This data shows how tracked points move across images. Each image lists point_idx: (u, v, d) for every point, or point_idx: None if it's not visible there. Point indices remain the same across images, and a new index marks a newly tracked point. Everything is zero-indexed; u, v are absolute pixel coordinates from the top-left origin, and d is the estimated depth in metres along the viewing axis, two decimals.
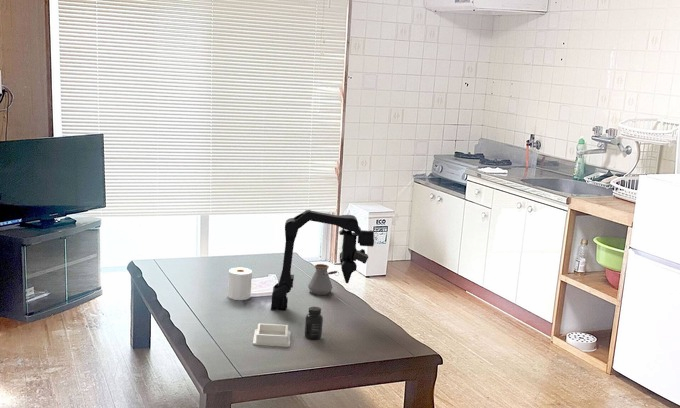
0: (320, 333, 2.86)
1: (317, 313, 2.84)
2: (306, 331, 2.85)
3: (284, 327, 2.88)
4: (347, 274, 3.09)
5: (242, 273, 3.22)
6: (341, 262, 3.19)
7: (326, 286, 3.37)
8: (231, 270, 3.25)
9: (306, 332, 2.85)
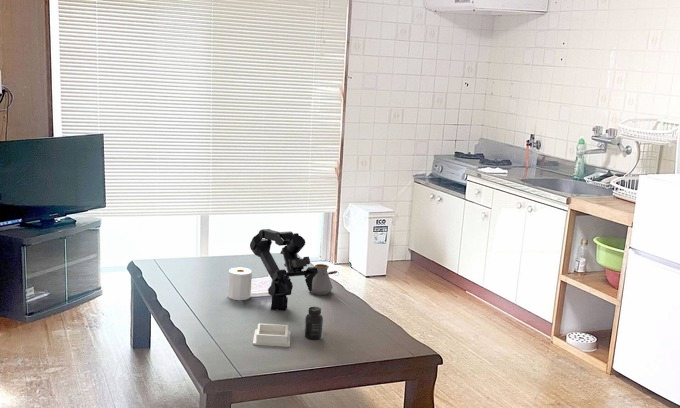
0: (320, 333, 2.86)
1: (317, 313, 2.84)
2: (306, 331, 2.85)
3: (284, 327, 2.88)
4: (285, 284, 2.97)
5: (242, 273, 3.21)
6: (305, 280, 3.05)
7: (326, 286, 3.37)
8: (231, 270, 3.25)
9: (306, 332, 2.85)
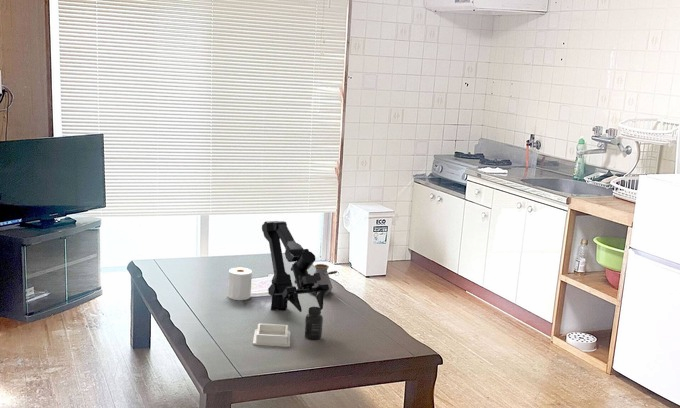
0: (320, 333, 2.86)
1: (317, 313, 2.84)
2: (306, 331, 2.85)
3: (284, 327, 2.88)
4: (295, 302, 2.88)
5: (242, 273, 3.21)
6: (316, 297, 2.95)
7: None
8: (231, 270, 3.25)
9: (306, 332, 2.85)
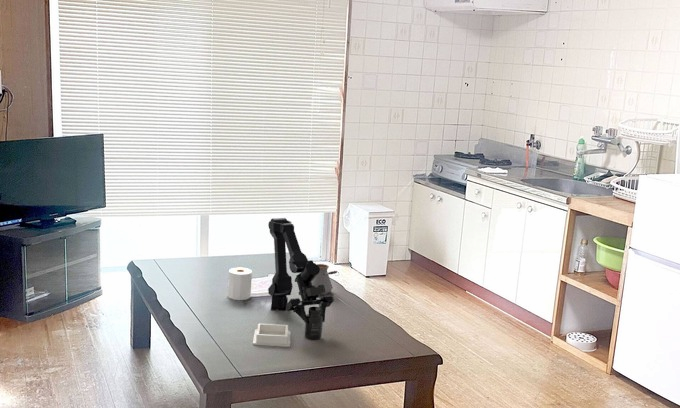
0: (320, 333, 2.86)
1: (317, 313, 2.84)
2: (306, 331, 2.85)
3: (284, 327, 2.88)
4: (301, 314, 2.85)
5: (242, 273, 3.22)
6: None
7: (326, 286, 3.37)
8: (231, 270, 3.25)
9: (306, 332, 2.85)
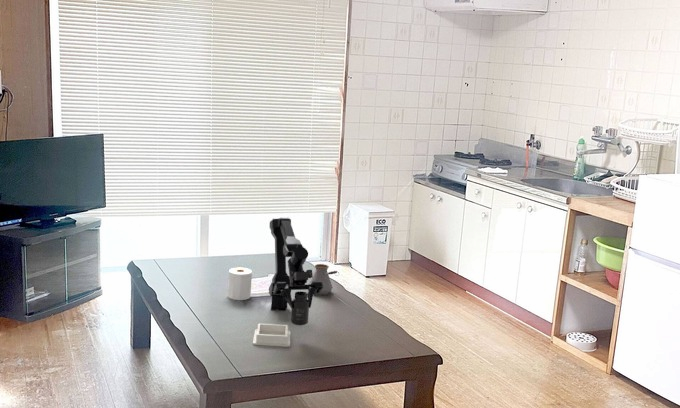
0: (305, 318, 2.81)
1: (302, 298, 2.80)
2: (291, 316, 2.82)
3: (284, 327, 2.88)
4: (287, 298, 2.82)
5: (242, 273, 3.21)
6: (307, 295, 2.88)
7: (326, 286, 3.37)
8: (231, 270, 3.25)
9: (291, 317, 2.82)
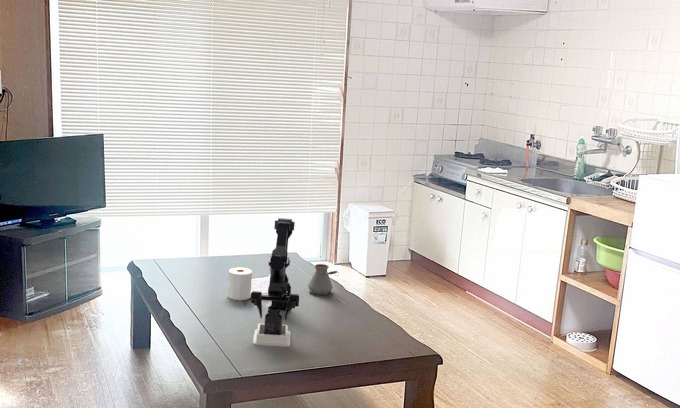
0: (276, 333, 2.80)
1: (273, 312, 2.79)
2: (264, 329, 2.82)
3: (284, 327, 2.88)
4: (259, 308, 2.83)
5: (242, 273, 3.22)
6: None
7: (326, 286, 3.37)
8: (231, 270, 3.25)
9: (264, 330, 2.82)
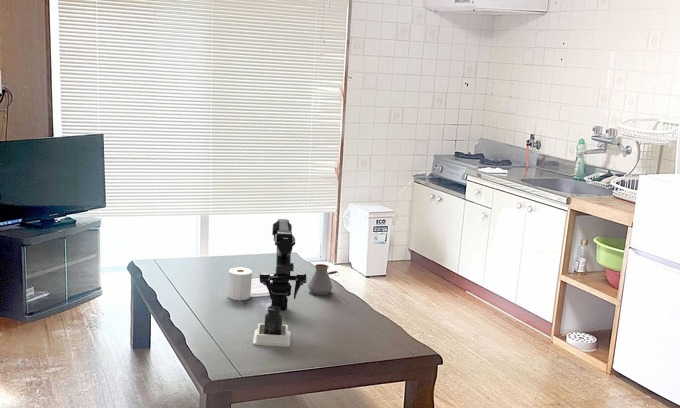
0: (276, 333, 2.80)
1: (273, 312, 2.79)
2: (264, 329, 2.82)
3: (284, 327, 2.88)
4: None
5: (242, 273, 3.21)
6: None
7: (326, 286, 3.37)
8: (231, 270, 3.25)
9: (264, 330, 2.82)
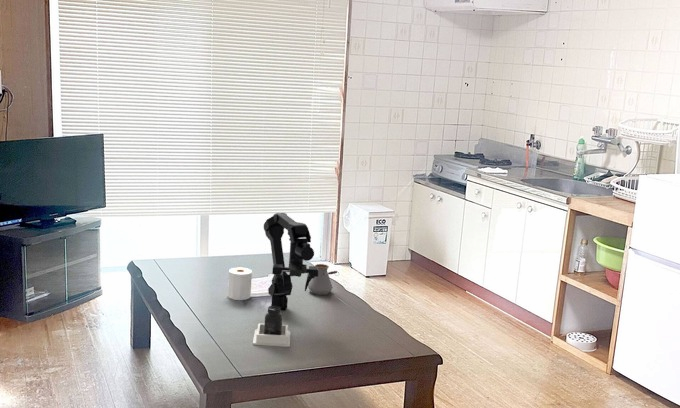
0: (276, 333, 2.80)
1: (273, 312, 2.79)
2: (264, 329, 2.82)
3: (284, 327, 2.88)
4: None
5: (242, 273, 3.22)
6: (307, 275, 3.03)
7: (326, 286, 3.37)
8: (231, 270, 3.25)
9: (264, 330, 2.82)
